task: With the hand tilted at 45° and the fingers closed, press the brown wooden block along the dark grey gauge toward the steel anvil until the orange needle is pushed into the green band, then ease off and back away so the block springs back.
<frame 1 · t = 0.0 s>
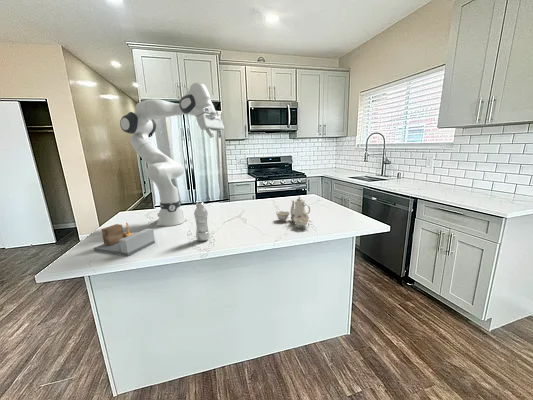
hand: (216, 137, 134), 52 cm above the table, tool tilted 20°, fingers open, 8 cm apart
plastic bottle: (203, 240, 126), on the table
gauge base: (125, 246, 121), on the table
needle: (128, 230, 127), point 6 cm above the table, slide at 0.0 cm
brown wooden block: (117, 232, 124), point 6 cm above the table, slide at 0.0 cm
chinaware: (295, 223, 149), on the table
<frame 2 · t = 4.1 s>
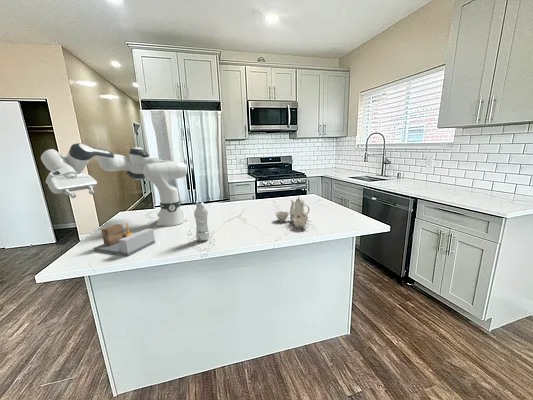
hand: (83, 195, 122), 25 cm above the table, tool tilted 45°, fingers open, 8 cm apart
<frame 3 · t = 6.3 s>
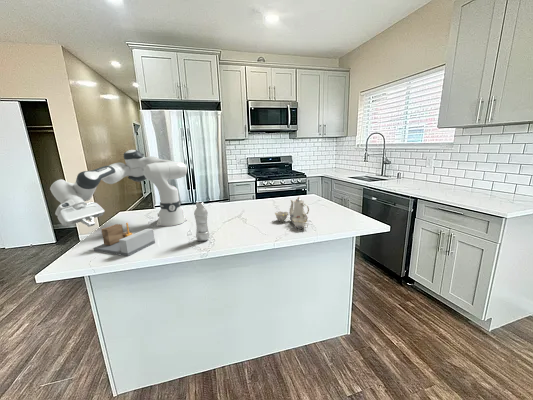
hand: (92, 225, 125), 10 cm above the table, tool tilted 45°, fingers closed
nothing on the table moved.
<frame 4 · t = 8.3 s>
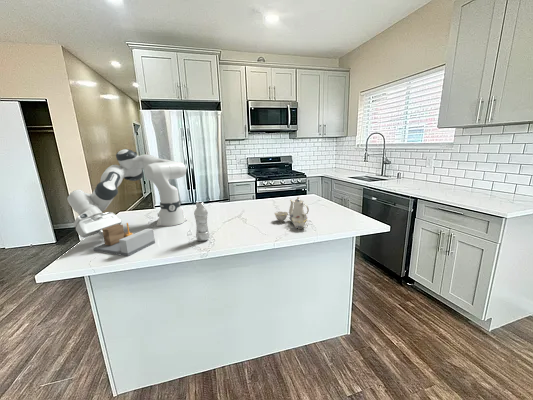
hand: (109, 236, 123), 5 cm above the table, tool tilted 45°, fingers closed, pressing on brown wooden block
needle: (128, 230, 126), point 6 cm above the table, slide at 0.2 cm, touching brown wooden block
brown wooden block: (118, 233, 124), point 6 cm above the table, slide at 0.6 cm, touching gripper, needle
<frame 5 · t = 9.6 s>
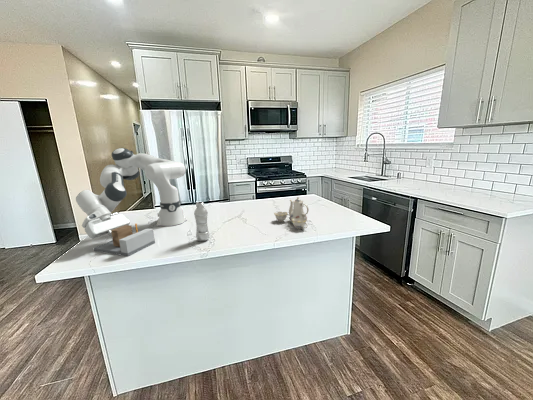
hand: (118, 237, 121), 5 cm above the table, tool tilted 45°, fingers closed, pressing on brown wooden block
needle: (137, 231, 124), point 6 cm above the table, slide at 6.0 cm, touching brown wooden block
brown wooden block: (126, 234, 122), point 6 cm above the table, slide at 6.4 cm, touching gripper, needle
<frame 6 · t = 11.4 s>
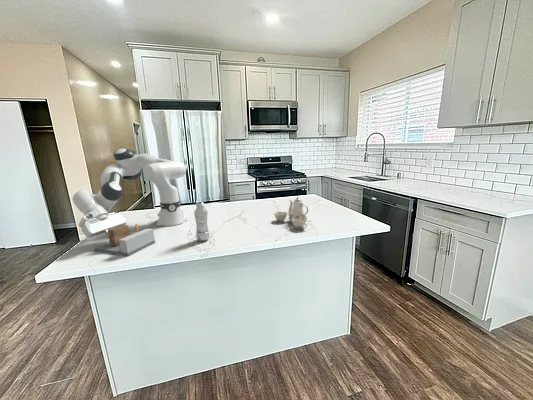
hand: (115, 236, 122), 5 cm above the table, tool tilted 45°, fingers closed, pressing on brown wooden block
needle: (137, 231, 124), point 6 cm above the table, slide at 6.2 cm
brown wooden block: (123, 233, 123), point 6 cm above the table, slide at 4.1 cm, touching gripper
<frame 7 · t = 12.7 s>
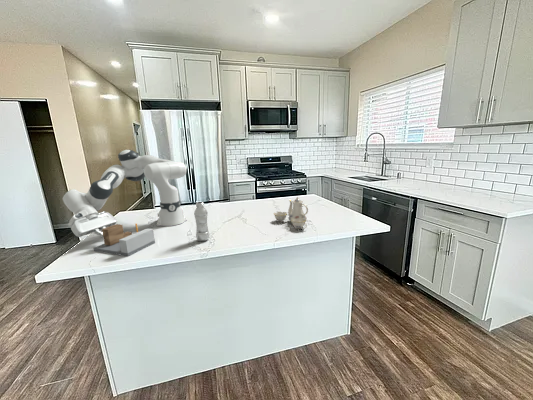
hand: (105, 235, 124), 5 cm above the table, tool tilted 45°, fingers closed
brown wooden block: (117, 233, 124), point 6 cm above the table, slide at 0.3 cm
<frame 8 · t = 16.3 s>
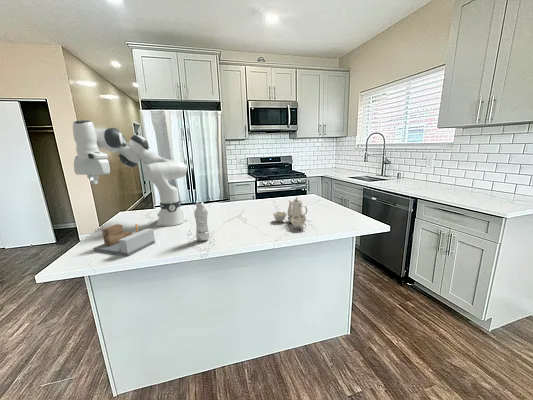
hand: (94, 183, 120), 31 cm above the table, tool pointing down, fingers closed
at the end: needle slide at 6.2 cm; brown wooden block slide at 0.3 cm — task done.
